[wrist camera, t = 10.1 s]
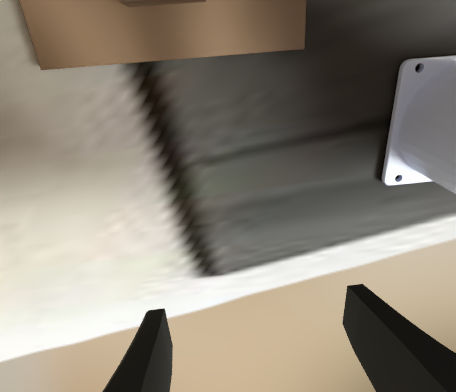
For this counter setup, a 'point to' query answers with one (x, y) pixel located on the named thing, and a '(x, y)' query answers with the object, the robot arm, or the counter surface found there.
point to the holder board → (159, 29)
